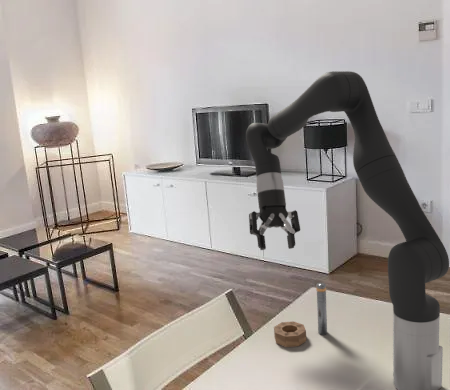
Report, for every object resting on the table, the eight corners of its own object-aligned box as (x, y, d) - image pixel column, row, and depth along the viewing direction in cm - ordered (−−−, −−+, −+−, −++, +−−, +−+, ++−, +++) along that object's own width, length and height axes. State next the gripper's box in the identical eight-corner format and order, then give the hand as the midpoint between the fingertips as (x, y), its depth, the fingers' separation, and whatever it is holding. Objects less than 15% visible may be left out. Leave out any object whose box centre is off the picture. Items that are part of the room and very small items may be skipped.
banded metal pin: (329, 332, 133) (327, 283, 130) (324, 335, 132) (322, 287, 129) (321, 329, 135) (319, 281, 132) (316, 333, 133) (314, 284, 130)
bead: (311, 337, 131) (311, 327, 131) (293, 350, 126) (293, 339, 125) (287, 328, 137) (286, 319, 136) (269, 340, 131) (268, 330, 131)
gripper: (252, 188, 131) (259, 248, 128) (299, 187, 136) (307, 245, 133) (242, 194, 138) (248, 252, 135) (287, 194, 143) (294, 249, 139)
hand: (277, 249), depth 134 cm, fingers open, 8 cm apart
